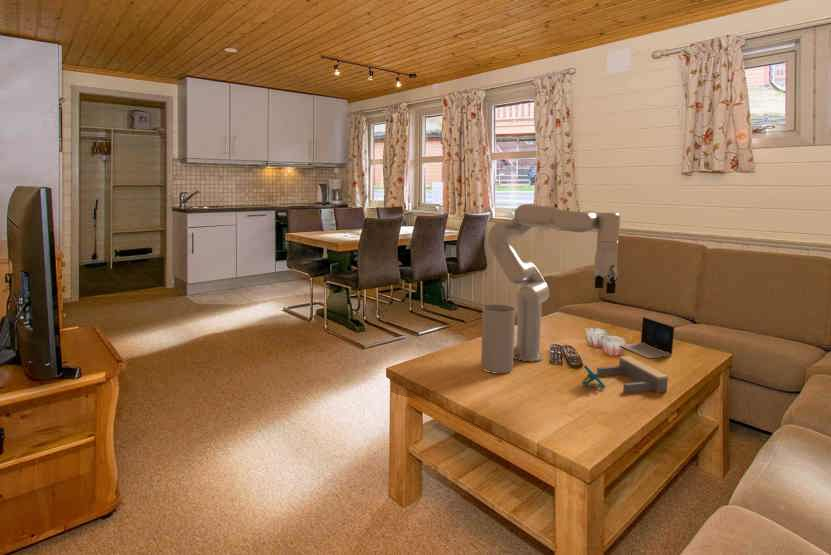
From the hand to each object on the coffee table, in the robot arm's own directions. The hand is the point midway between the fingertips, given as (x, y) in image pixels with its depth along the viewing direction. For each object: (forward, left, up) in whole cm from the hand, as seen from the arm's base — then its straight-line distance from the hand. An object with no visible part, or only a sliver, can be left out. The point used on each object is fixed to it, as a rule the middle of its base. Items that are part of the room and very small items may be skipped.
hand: (604, 290), depth 194 cm
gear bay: (+5, -11, -33) cm, 35 cm away
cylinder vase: (-38, +13, -33) cm, 52 cm away
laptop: (+35, +19, -33) cm, 51 cm away
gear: (-10, -11, -33) cm, 36 cm away
